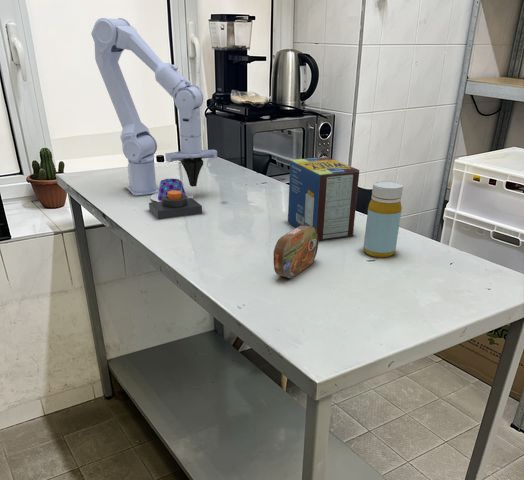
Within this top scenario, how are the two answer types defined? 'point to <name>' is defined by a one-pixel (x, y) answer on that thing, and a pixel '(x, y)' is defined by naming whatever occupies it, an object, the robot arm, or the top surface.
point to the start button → (174, 195)
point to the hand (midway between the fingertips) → (193, 185)
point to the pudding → (169, 189)
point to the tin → (295, 251)
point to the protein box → (323, 196)
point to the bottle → (383, 219)
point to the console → (175, 207)
